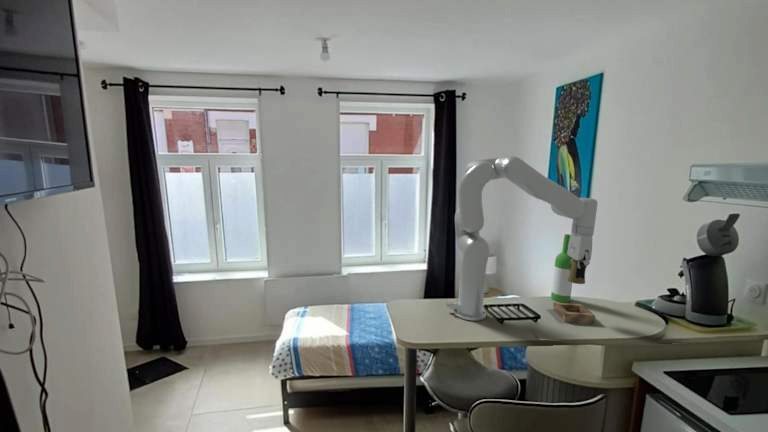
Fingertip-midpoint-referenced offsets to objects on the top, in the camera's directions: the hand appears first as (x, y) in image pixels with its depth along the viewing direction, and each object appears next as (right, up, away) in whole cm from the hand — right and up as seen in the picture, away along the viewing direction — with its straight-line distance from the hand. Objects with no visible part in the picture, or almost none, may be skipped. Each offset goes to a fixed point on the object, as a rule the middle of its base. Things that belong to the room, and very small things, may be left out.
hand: (576, 275), depth 141 cm
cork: (0, -3, 0) cm, 2 cm away
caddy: (0, -17, +2) cm, 17 cm away
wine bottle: (+4, -15, +21) cm, 26 cm away
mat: (-1, -17, +2) cm, 17 cm away
